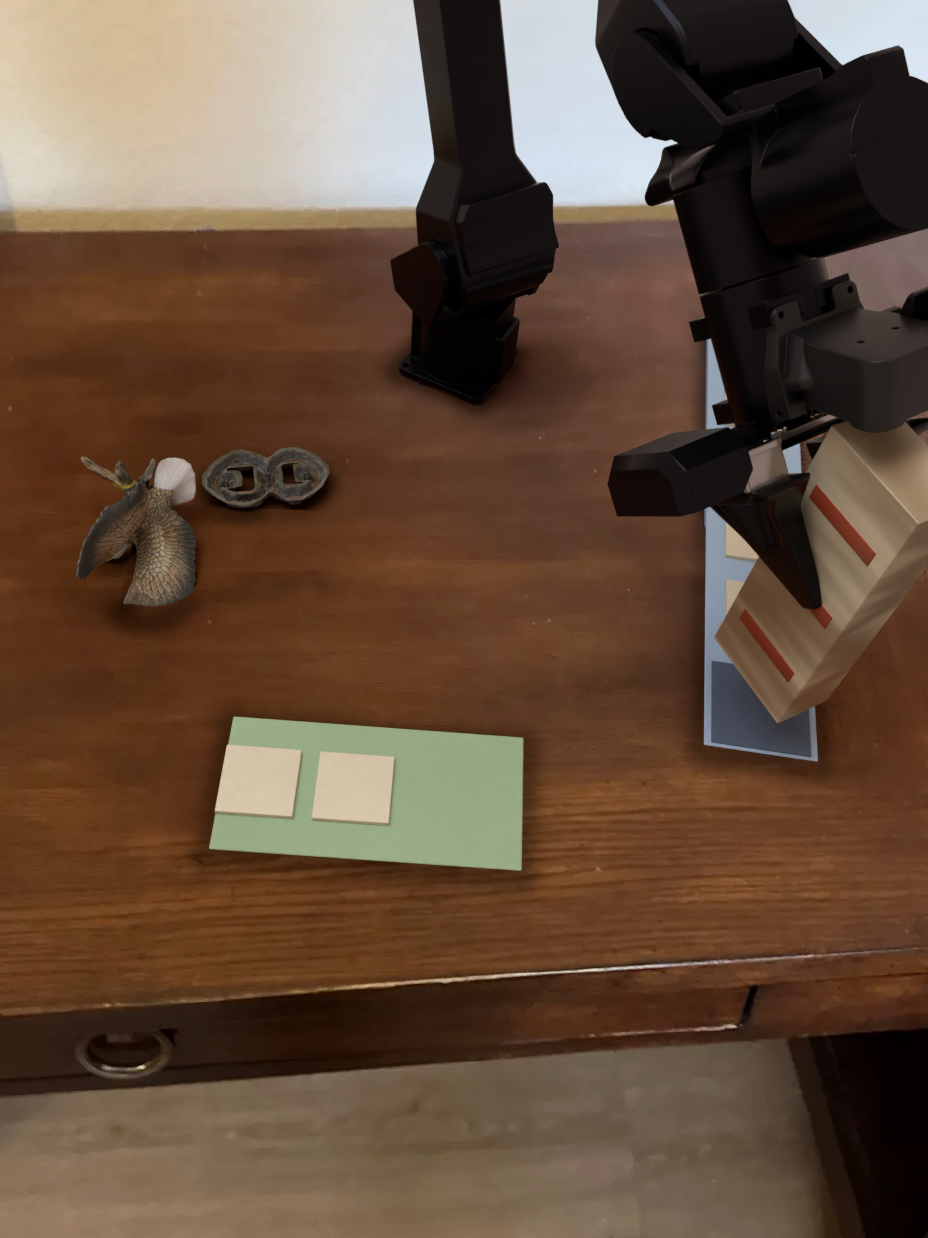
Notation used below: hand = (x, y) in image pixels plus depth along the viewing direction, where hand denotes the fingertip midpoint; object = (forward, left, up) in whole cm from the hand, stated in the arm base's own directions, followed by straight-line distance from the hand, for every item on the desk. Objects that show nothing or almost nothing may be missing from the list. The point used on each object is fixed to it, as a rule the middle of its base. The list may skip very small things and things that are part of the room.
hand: (842, 593), depth 59 cm
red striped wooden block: (-2, +1, -8) cm, 9 cm away
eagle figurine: (-38, -8, -13) cm, 41 cm away
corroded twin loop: (-35, +1, -13) cm, 37 cm away
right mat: (-6, +15, -13) cm, 21 cm away
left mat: (-18, -15, -13) cm, 26 cm away
